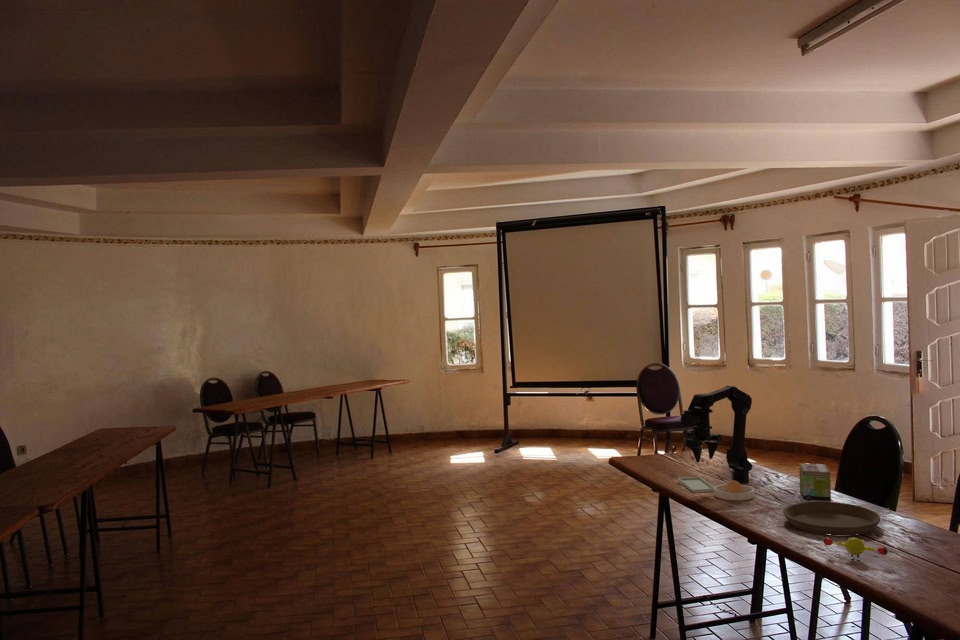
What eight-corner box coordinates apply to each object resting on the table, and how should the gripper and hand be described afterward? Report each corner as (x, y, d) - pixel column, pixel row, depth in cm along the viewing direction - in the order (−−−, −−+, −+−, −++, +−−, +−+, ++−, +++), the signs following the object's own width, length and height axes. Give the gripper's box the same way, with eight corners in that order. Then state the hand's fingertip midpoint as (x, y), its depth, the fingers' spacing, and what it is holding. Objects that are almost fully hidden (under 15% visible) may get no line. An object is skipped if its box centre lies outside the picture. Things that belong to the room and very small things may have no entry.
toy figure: (890, 562, 218) (889, 540, 218) (886, 568, 214) (885, 545, 214) (827, 551, 230) (826, 530, 230) (821, 556, 226) (820, 534, 226)
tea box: (832, 510, 275) (830, 471, 274) (803, 509, 278) (801, 470, 278) (827, 500, 289) (825, 463, 289) (799, 499, 292) (798, 462, 292)
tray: (700, 481, 328) (699, 476, 328) (716, 493, 306) (716, 488, 306) (678, 482, 328) (677, 477, 328) (693, 494, 306) (692, 489, 306)
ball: (738, 492, 302) (738, 478, 302) (744, 496, 296) (743, 481, 296) (724, 493, 302) (724, 479, 302) (729, 497, 296) (729, 482, 296)
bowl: (746, 491, 307) (745, 483, 307) (760, 501, 291) (760, 492, 291) (709, 493, 307) (709, 484, 307) (722, 502, 291) (721, 494, 291)
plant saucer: (826, 544, 238) (825, 530, 238) (765, 519, 268) (764, 506, 268) (902, 532, 246) (901, 519, 246) (835, 509, 276) (834, 497, 276)
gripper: (699, 419, 321) (701, 454, 322) (673, 425, 310) (675, 461, 310) (721, 421, 312) (723, 457, 313) (695, 427, 301) (697, 465, 301)
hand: (704, 460), depth 309 cm, fingers open, 9 cm apart
